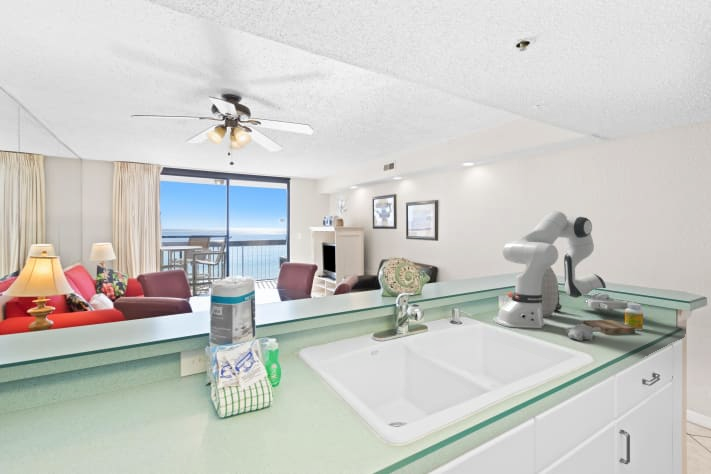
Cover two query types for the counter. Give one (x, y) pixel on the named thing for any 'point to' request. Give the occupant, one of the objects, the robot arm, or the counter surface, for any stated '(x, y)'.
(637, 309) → the supplement bottle
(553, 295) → the vase
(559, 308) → the salt shaker
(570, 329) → the bunny figurine
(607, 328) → the walnut base
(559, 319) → the counter surface
